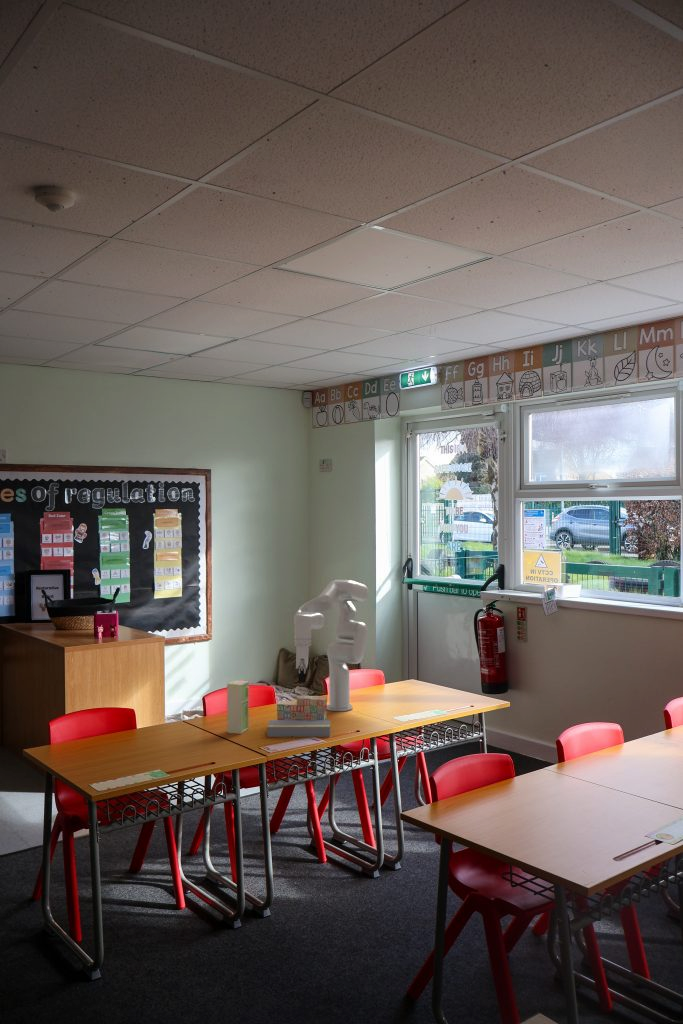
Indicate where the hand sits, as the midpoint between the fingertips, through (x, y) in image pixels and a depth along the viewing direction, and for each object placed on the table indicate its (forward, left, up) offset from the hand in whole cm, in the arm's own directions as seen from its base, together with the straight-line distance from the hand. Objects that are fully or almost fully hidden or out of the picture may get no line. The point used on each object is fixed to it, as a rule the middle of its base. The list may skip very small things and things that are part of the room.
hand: (302, 680), depth 378 cm
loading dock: (+16, -1, -19) cm, 25 cm away
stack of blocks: (0, 0, -19) cm, 19 cm away
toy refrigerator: (+13, -27, -19) cm, 35 cm away
